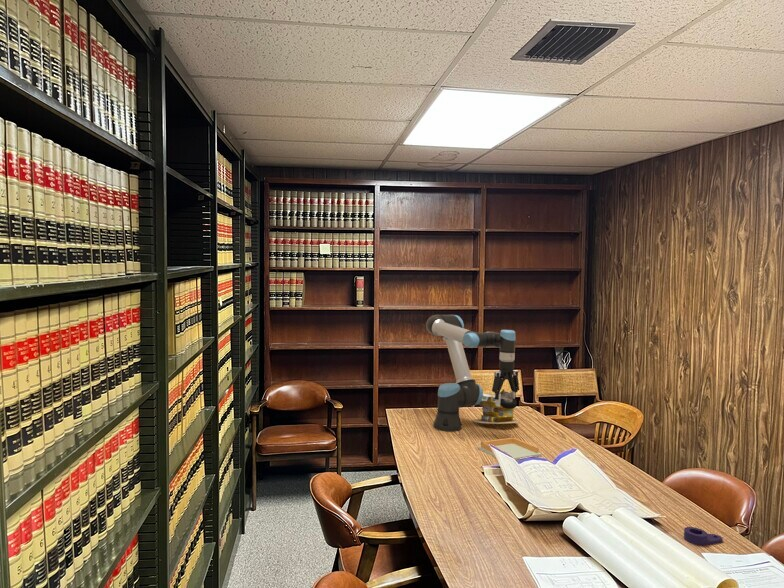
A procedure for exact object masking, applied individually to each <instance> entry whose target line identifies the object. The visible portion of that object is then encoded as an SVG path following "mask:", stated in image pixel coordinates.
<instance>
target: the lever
mask: <svg viewBox="0 0 784 588" xmlns="http://www.w3.org/2000/svg"><path fill="white" fill-rule="evenodd" d="M683 540H685V542H687V543H688V544H690V545H695V546H699V547H700V546H701V547H705V546H709V545H715V544H721V543H723V537H722V536H721V535H718V534H715V533H708V532H707V531H705V530H703V529H700V528H698V527H695V526H694V527H693V526H687V527H684V529H683Z"/></svg>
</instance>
